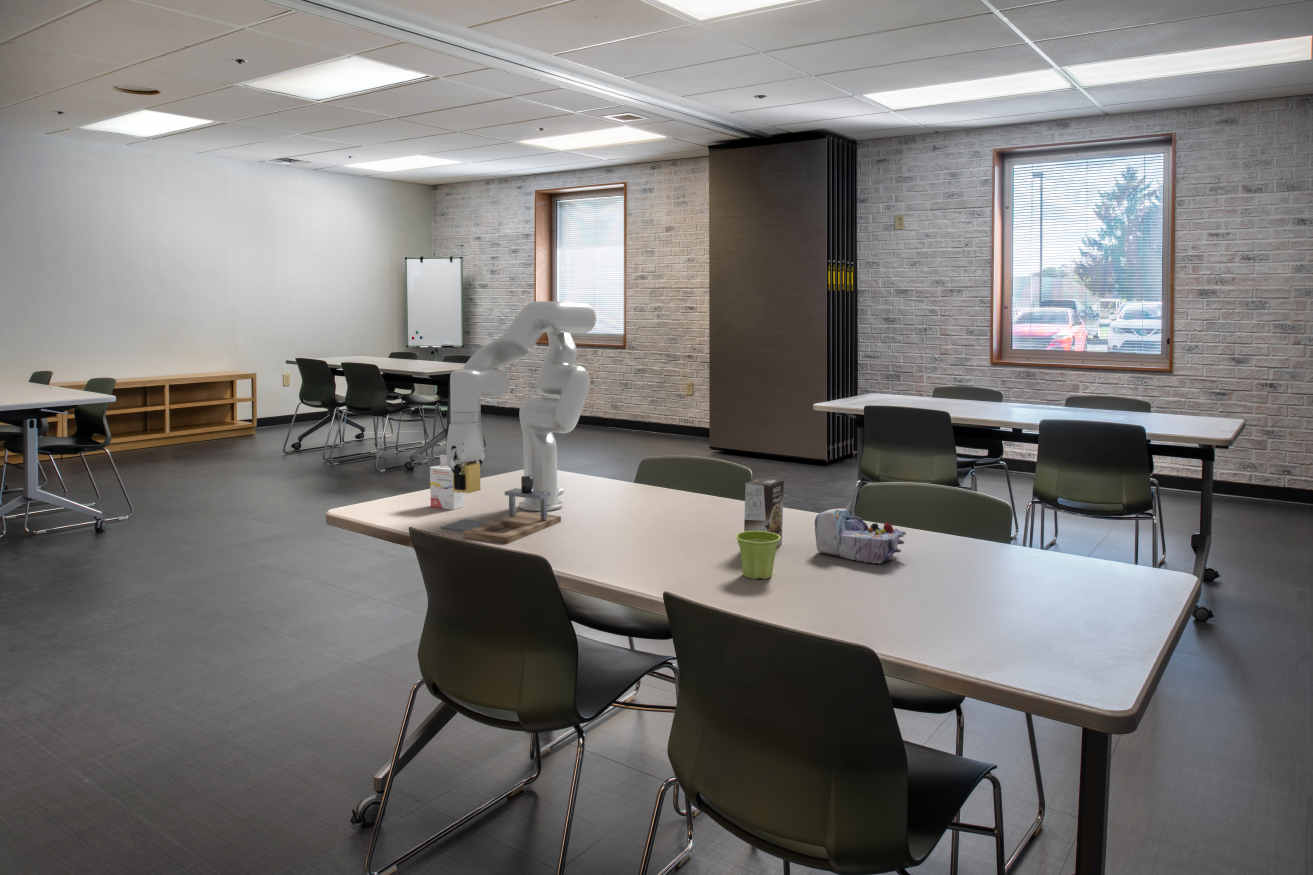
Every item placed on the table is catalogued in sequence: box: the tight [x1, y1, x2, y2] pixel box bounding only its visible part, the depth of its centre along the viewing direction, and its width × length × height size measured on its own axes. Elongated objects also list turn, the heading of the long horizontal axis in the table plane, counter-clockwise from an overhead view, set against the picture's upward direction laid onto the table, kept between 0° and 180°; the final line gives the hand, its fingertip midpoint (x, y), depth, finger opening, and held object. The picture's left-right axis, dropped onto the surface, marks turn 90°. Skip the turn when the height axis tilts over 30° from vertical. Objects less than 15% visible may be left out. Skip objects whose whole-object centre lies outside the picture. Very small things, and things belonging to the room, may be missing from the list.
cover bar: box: [504, 475, 551, 520], centre depth 226 cm, size 5×11×11 cm, turn 65°
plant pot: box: [735, 531, 781, 580], centre depth 183 cm, size 9×9×9 cm
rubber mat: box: [440, 518, 490, 532], centre depth 224 cm, size 10×10×1 cm
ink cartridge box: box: [429, 454, 465, 511], centre depth 245 cm, size 9×5×15 cm, turn 65°
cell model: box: [814, 508, 907, 565], centre depth 198 cm, size 13×11×20 cm
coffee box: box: [743, 477, 785, 548], centre depth 205 cm, size 9×6×16 cm
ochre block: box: [453, 462, 481, 494], centre depth 222 cm, size 5×5×7 cm
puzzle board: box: [462, 511, 562, 544], centre depth 221 cm, size 25×13×2 cm, turn 155°
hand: (466, 487), depth 222 cm, fingers closed on ochre block, 5 cm apart
